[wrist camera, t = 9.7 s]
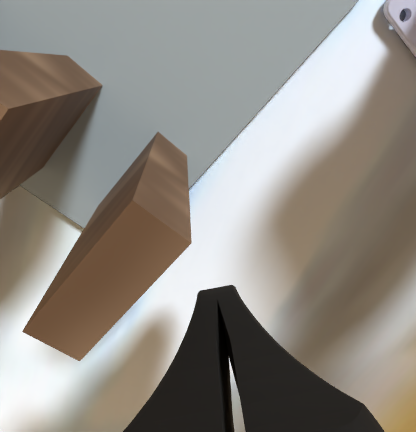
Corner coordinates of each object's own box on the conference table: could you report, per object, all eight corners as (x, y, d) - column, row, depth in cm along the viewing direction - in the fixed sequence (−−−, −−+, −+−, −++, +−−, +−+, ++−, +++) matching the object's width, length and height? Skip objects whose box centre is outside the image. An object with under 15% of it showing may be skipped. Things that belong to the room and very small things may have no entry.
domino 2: (187, 155, 17) (191, 243, 8) (126, 226, 18) (79, 361, 10) (157, 131, 16) (132, 200, 8) (97, 206, 17) (22, 331, 9)
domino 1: (102, 85, 15) (8, 108, 7) (42, 167, 16) (-97, 269, 8) (67, 55, 15) (-81, 42, 6) (8, 143, 16) (-179, 227, 8)
